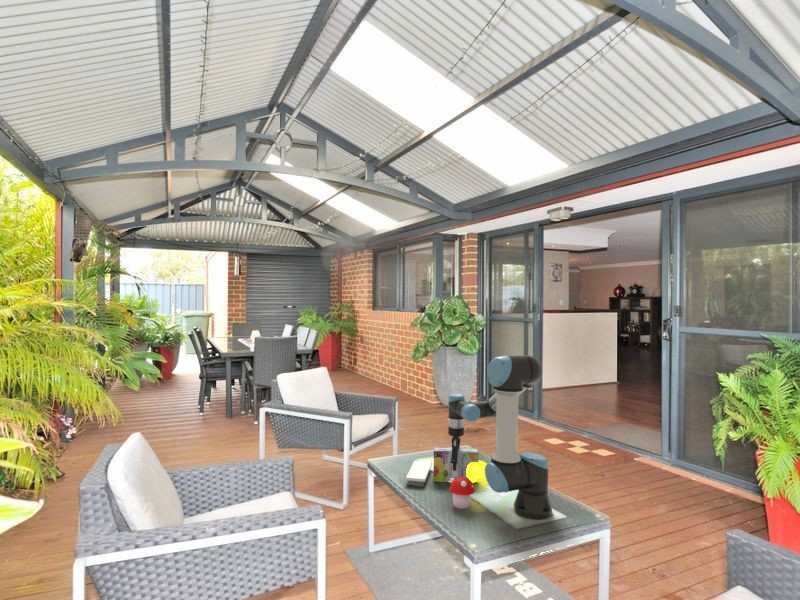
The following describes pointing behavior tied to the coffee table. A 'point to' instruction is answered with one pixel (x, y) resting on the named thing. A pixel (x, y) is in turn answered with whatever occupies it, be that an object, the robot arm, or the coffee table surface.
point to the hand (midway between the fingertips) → (455, 472)
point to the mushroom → (461, 492)
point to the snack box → (445, 467)
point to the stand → (418, 473)
